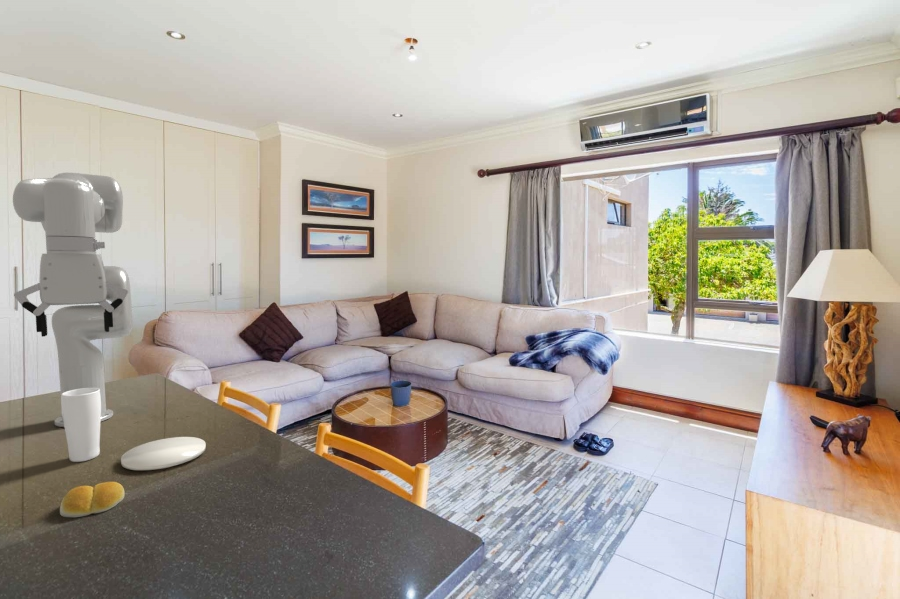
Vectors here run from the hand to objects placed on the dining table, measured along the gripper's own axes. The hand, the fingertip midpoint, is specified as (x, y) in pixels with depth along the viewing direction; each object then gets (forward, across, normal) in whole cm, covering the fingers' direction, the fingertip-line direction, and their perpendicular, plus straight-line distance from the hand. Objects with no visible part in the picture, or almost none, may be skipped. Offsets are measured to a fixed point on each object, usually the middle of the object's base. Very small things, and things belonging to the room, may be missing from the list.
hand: (76, 333), depth 91 cm
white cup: (+29, 0, -11) cm, 31 cm away
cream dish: (+29, -14, 0) cm, 32 cm away
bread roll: (+30, -1, +16) cm, 34 cm away
